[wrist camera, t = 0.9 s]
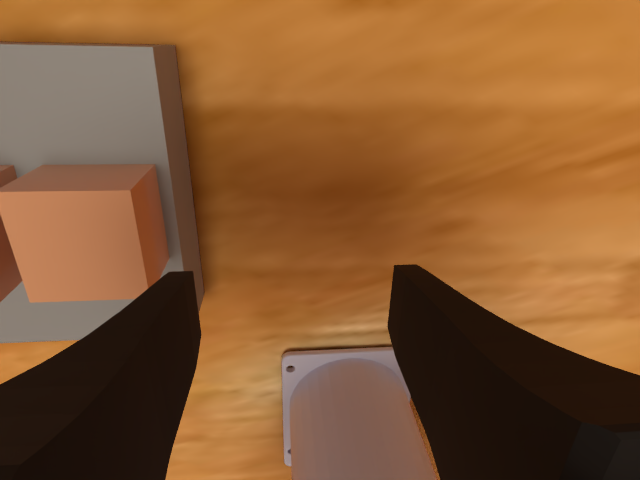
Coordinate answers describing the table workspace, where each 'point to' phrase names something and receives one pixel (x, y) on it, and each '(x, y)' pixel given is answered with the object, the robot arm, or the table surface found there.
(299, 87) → the table surface
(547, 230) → the table surface
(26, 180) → the orange brown block
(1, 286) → the terracotta block
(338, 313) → the table surface
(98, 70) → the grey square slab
